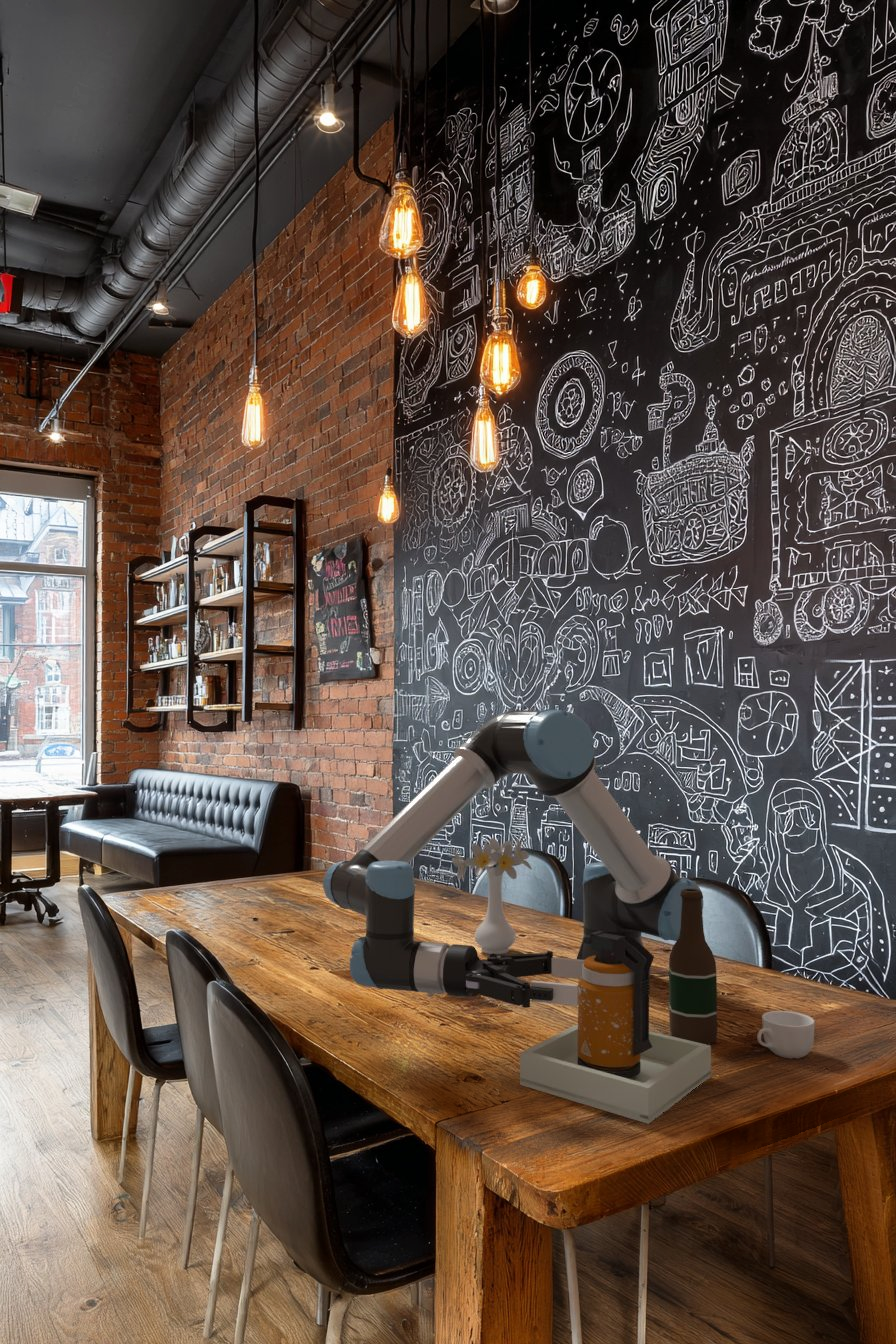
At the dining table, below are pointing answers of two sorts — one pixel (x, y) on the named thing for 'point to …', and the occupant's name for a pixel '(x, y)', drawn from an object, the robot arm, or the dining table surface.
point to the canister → (614, 1005)
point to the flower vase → (494, 891)
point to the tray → (641, 1098)
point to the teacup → (787, 1033)
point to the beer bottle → (692, 977)
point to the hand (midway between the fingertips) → (586, 982)
